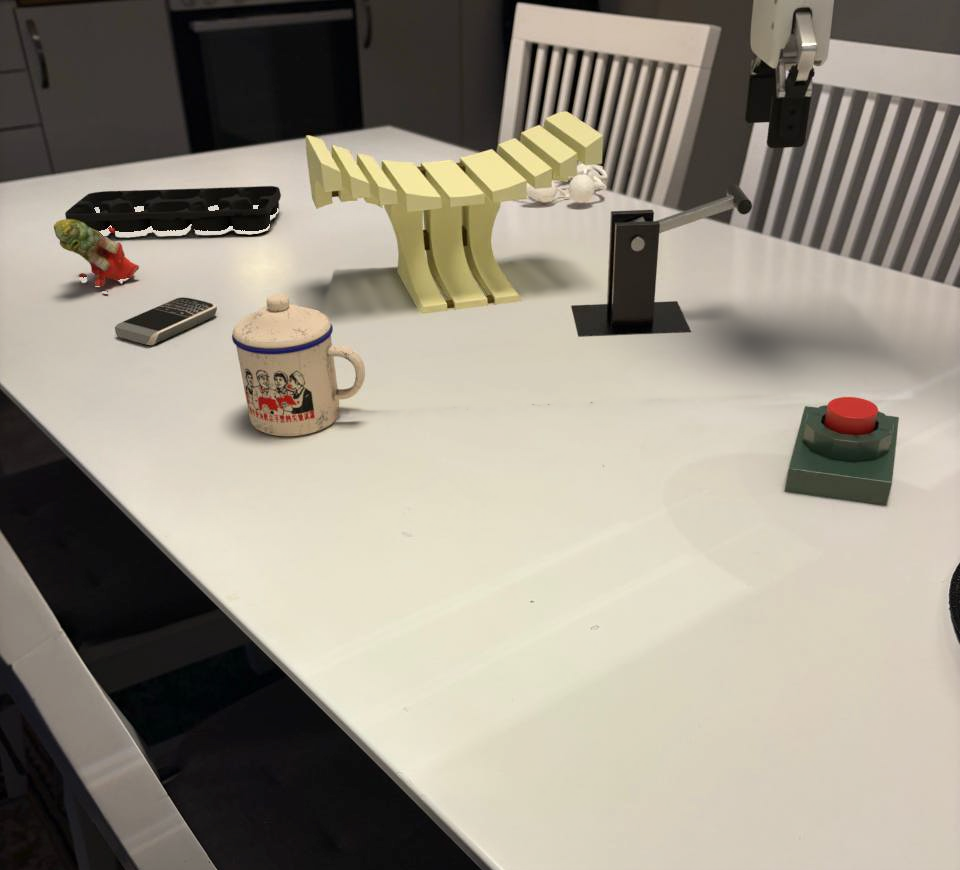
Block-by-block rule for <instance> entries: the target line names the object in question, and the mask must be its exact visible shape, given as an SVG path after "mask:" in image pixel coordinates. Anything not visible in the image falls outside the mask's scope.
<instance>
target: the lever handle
mask: <svg viewBox="0 0 960 870" xmlns="http://www.w3.org/2000/svg"><path fill="white" fill-rule="evenodd" d="M752 208H753V203H752V201H751V200H750V199H749V197H748V196H747V195H746V193H745V192H744V191H743V190H742V188H741V187H740V186H739V185H737V184H732V185H730V186H729V187H728V188H727V190H726V196H725V197H722V198H719V199H716V200H713V201H710V202H707V203H704V204H701V205H699V206H696V207H692V208H690V209H687V210H684V211H681V212H678V213H675V214H673V215H670V216H665V217H663V218H660V219H657V220H656V221H659V223H660V230H659V234H662V233H664V232H665V233H666V232H669V231H671V230H673V229H677V228H680V227H682V226H686V225H688V224H691V223H694V222H696V221H700V220H703V219H706V218H708V217H711V216H715V215H717V214H720V213H723V212H726V211H729V210H732V209H736V210H737V212H738V213H739V214H740V215H747V214H749V213H750V212H751V211H752ZM629 222H645V220H644V218H643V217H640V218H637V219H634V220H631V221H629Z"/></svg>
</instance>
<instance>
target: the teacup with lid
mask: <svg viewBox="0 0 960 870" xmlns="http://www.w3.org/2000/svg"><path fill="white" fill-rule="evenodd" d="M333 331H334V328H333V324H332V323H331V320H330V319H329V318H328V316H327V315H325V314H324V313H323V312H321V311H319V310H317V309H315V308H310V307H303V306H300V305H297V304H294V303H291V302H290V299H289V297H288V296H287V295H285V294H283V293H282V294H281V293H277V294H272V295H270V296H268V297H267V299H266V305H265V306H263V307H261V308H259V309H258V310H257V311H255V312H252V313H250V314H248V315H246V316H244V317H242V318H241V319H240V320H238V321H237V322H236V323H235V325H234V327H233V329H232V336H231V340H232V343H233V344H234V345H235V346H236V347H235V348H236V352H237V358H238V362H239V363H238V364H239V368H240V373H241V379H242V384H243V389H244V390H243V391H244V395H245V400H246V405H247V411H248V415H249V416H248V417H249V420H250V423H251V425H252V426H253V427H254V428H255V429H256V430H258V431H259V432H261V433H264V434H267V435H270V436H278V437H298V436H305V435H309V434H313V433H316V432H319V431H321V430H324V429H326V428H328V427H329V426H331V425H332V424H333V423H335V422H336V420H338V418H339V416H340V414H341V410H338V409H339V407H340V400H347V399H351V398H352V397H354V396H355V395H356V394H357V393H358V392H359V391H360V390H361V388H362V386H363V384H364V381H365V377H366V368H365V364H364V361H363V358H362V357H361V356H360V355H359V353H357V352H356V351H355V350H353V349H352V348H349V347H347V346H343V345H342V346H341V345H333V341H332V334H333ZM335 357H340V358H342V359H346V361H349V362H350V363H351V365H352V366H353V368H354V371H355V378H354V383H353V385H352V386H350V387H349V388H341V389H340V388H338V380H337V373H336V372H337V371H336V365H335Z"/></svg>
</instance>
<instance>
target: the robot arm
mask: <svg viewBox="0 0 960 870" xmlns="http://www.w3.org/2000/svg"><path fill="white" fill-rule="evenodd" d="M752 2H753V3H752V13H751V23H750V24H751V25H750V49H751V51H752V53H753V55H752V59H751V63H750V74H749V77H748V85H747V95H746V104H745V114H744V120H745V122H746V123H747V124H759V123H768V128H767V136H766V138H767V139H766V145H767V146H768V148H769V149H784V148H785V149H789V148H801V147H803V146H804V145H805V143H806V136H807V129H808V122H809V116H810V108H811V101H812V94H813V87H814V86H813V85H814V84H813V82H814V81H813V78H814V77H815V73H816V72H815V68H814V67H822V66H823V65H824V64H825V63H826V62H827V59H828V56H829V50H830V41H831V34H832V33H831V32H832V22H833V12H834V5H835V4H834V3H835V0H753V1H752ZM786 72H788V73H786Z"/></svg>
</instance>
